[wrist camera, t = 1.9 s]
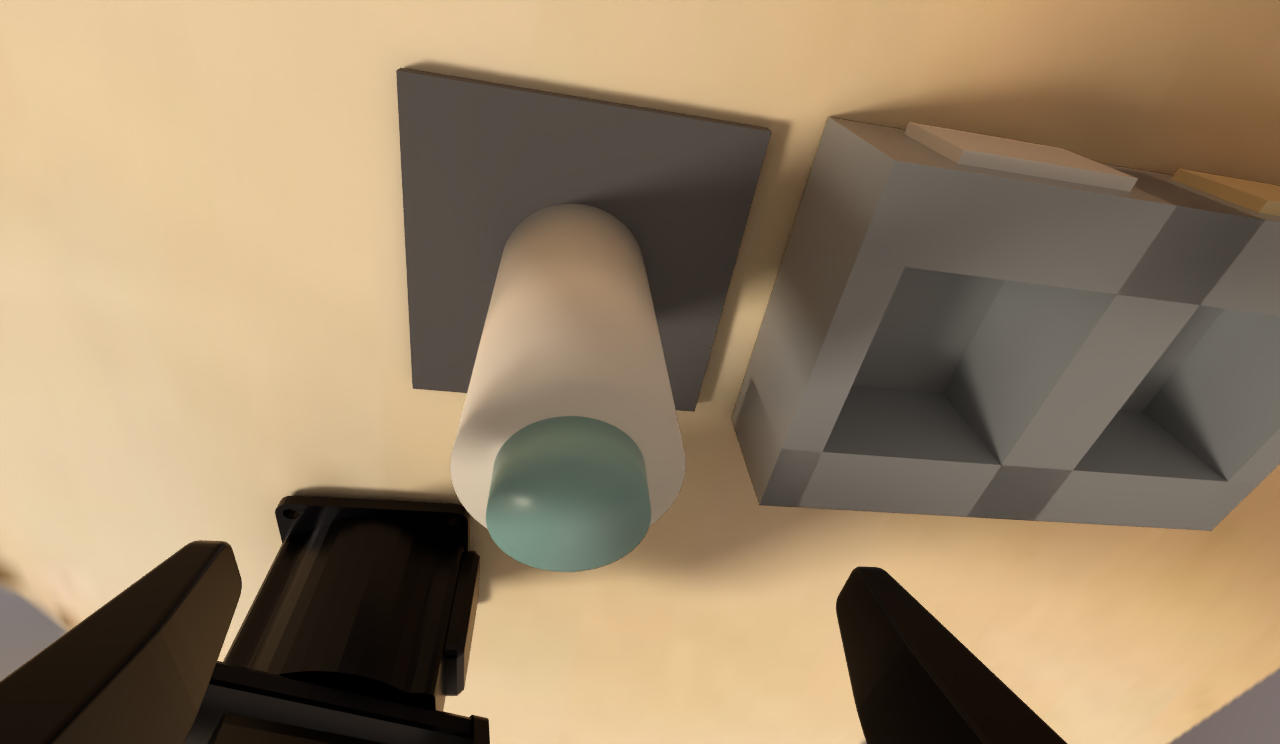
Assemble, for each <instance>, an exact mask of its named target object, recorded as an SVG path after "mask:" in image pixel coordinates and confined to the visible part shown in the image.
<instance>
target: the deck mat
mask: <svg viewBox="0 0 1280 744" xmlns="http://www.w3.org/2000/svg"><path fill="white" fill-rule="evenodd" d="M396 72H397V92H398V111H399V130H400V150H401V169H402V189H403V208H404V227H405V247H406V266H407V286H408V305H409V324H410V344H411V363H412V382H413V389H425V390H437V391H450V392H462V393H467V392H468V388H469V384H470V380H471V376H472V372H473V368H474V364H475V360H476V356H477V352H478V348H479V344H480V340H481V336H482V333H483V329H484V325H485V321H486V317H487V313H488V309H489V305H490V301H491V297H492V293H493V289H494V285H495V281H496V277H497V273H498V269H499V266H500V262H501V258H502V254H503V250H504V247H505V245H506V242H507V240H508V238H509V237H510V235H511V233H512V232H513V231H514V229H515V228H516V227H517V226H518V225H519V224H520V223H521V222H522V221H523V220H524V219H525V218H527V217H528V216H530V215H531V214H533V213H535V212H537V211H539V210H541V209H543V208H547V207H550V206H553V205H559V204H570V203H573V204H584V205H589V206H593V207H596V208H599V209H601V210H603V211H605V212H608V213H610V214H611V215H613V216H614V217H616V218H617V219H619V220H620V221H621V222H622V223H623V224H624V225H625V226H626V227H627V228H628V229H629V230H630V231H631V233H632V234H633V236H634V237H635V239H636V240H637V242H638V244H639V246H640V249H641V252H642V255H643V259H644V264H645V269H646V273H647V278H648V283H649V288H650V292H651V297H652V302H653V306H654V311H655V316H656V320H657V325H658V330H659V335H660V339H661V344H662V349H663V353H664V358H665V363H666V368H667V372H668V377H669V382H670V386H671V391H672V396H673V400H674V405H675V410H682V411H695V407H696V403H697V400H698V396H699V393H700V389H701V385H702V382H703V378H704V374H705V371H706V367H707V363H708V360H709V356H710V353H711V349H712V345H713V342H714V338H715V334H716V331H717V327H718V324H719V320H720V316H721V313H722V309H723V305H724V302H725V298H726V294H727V291H728V287H729V284H730V280H731V276H732V273H733V269H734V265H735V262H736V258H737V254H738V251H739V247H740V244H741V240H742V236H743V233H744V229H745V225H746V222H747V218H748V215H749V211H750V207H751V204H752V200H753V196H754V193H755V189H756V185H757V182H758V178H759V175H760V171H761V167H762V164H763V160H764V156H765V153H766V149H767V145H768V142H769V138H770V135H771V131H770V130H769V129H768V128H764V127H758V126H752V125H746V124H740V123H734V122H728V121H722V120H716V119H709V118H703V117H697V116H691V115H685V114H679V113H673V112H667V111H661V110H655V109H648V108H642V107H636V106H630V105H624V104H618V103H612V102H606V101H600V100H594V99H588V98H581V97H575V96H569V95H563V94H557V93H551V92H545V91H539V90H533V89H527V88H520V87H514V86H508V85H502V84H496V83H490V82H484V81H478V80H472V79H466V78H459V77H453V76H447V75H441V74H435V73H429V72H423V71H417V70H411V69H405V68H400V69H398V70H397V71H396Z"/></svg>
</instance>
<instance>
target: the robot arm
mask: <svg viewBox="0 0 1280 744" xmlns="http://www.w3.org/2000/svg"><path fill="white" fill-rule="evenodd" d="M275 514H276V519H277V523H278V527H279V531H280V535H281V539H282V543H283V544H282V546H281V548H280V550H279V552H278V554H277V556H276V558H275V560H274V562H273V564H272V566H271V568H270V570H269V572H268V574H267V576H266V578H265V580H264V582H263V584H262V586H261V588H260V590H259V592H258V594H257V596H256V598H255V600H254V602H253V604H252V606H251V608H250V610H249V612H248V614H247V616H246V617H245V619H244V621H243V623H242V625H241V627H240V629H239V631H238V633H237V635H236V637H235V639H234V641H233V643H232V645H231V647H230V649H229V651H228V653H227V655H226V657H225V659H224V661H223V662H220V661H217V660H218V657H219V654H220V651H221V648H222V646H223V643H224V640H225V637H226V634H227V632H228V629H229V626H230V623H231V620H232V618H233V615H234V612H235V609H236V606H237V603H238V601H239V598H240V594H241V588H242V581H241V576H240V573H239V570H238V566H237V563H236V560H235V557H234V553H233V550H232V548H231V545H229V544H228V543H227V542H224V541H202V540H200V541H194V542H191V543H189V544H187V545H186V546H184V547H183V548H182V549H180V550H179V551H177V552H176V553H175V554H173V555H172V556H171V557H169V558H168V559H167V560H165V561H164V562H162V563H161V564H160V565H158V566H157V567H156V568H154V569H153V570H152V571H150V572H149V573H147V574H146V575H145V576H143V577H142V578H141V579H139V580H138V581H137V582H135V583H134V584H132V585H131V586H130V587H128V588H127V589H126V590H124V591H123V592H122V593H120V594H119V595H117V596H116V597H115V598H113V599H112V600H111V601H109V602H108V603H107V604H105V605H104V606H102V607H101V608H100V609H98V610H97V611H96V612H94V613H93V614H92V615H90V616H89V617H87V618H86V619H85V620H83V621H82V622H81V623H79V624H78V625H77V626H75V627H74V628H72V629H71V630H70V631H68V632H67V633H66V634H64V635H63V636H62V637H60V638H59V639H58V640H56V641H55V642H54V643H52V644H51V645H49V646H48V647H47V648H45V649H44V650H42V651H41V652H40V653H38V654H37V655H36V656H34V657H33V658H32V659H30V660H29V661H27V662H26V663H25V664H23V665H22V666H21V667H19V668H18V669H17V670H15V671H14V672H13V673H11V674H10V675H8V676H7V677H6V678H4V679H3V680H2V681H0V744H490V737H489V720H488V718H484V717H480V716H475V715H471V716H470V717H465V716H461V715H456V714H452V713H447V712H443V708H444V702H445V697H446V696H457V695H458V694H460V693H461V692H462V691H463V690H464V687H465V680H466V674H467V667H468V661H469V655H470V648H471V642H472V635H473V629H474V623H475V616H476V610H477V603H478V597H479V573H480V556H479V555H478V554H477V553H476V551H469V542H470V513H469V512H468V511H467V510H466V509H465V507H464V506H462V505H457V504H442V503H423V502H404V501H385V500H366V499H347V498H328V497H309V496H286V497H284V498H282V500H281V501H280V502H279V504H278V506H277V508H276V510H275ZM452 517H456V518H452ZM836 613H837V618H838V623H839V628H840V633H841V638H842V642H843V647H844V652H845V657H846V662H847V667H848V671H849V676H850V681H851V686H852V691H853V696H854V700H855V704H856V708H857V712H858V716H859V719H860V723H861V726H862V729H863V733H864V736H865V739H866V742H867V744H1067V743H1066V742H1065V741H1064V740H1063V739H1062V738H1061V737H1060V736H1059V735H1058V734H1057V733H1056V732H1055V731H1054V730H1052V729H1051V728H1050V727H1049V726H1048V725H1047V724H1046V723H1045V722H1044V721H1043V720H1042V719H1041V718H1040V717H1039V716H1038V715H1037V714H1036V713H1035V712H1034V711H1032V710H1031V709H1030V708H1029V707H1028V706H1027V705H1026V704H1025V703H1024V702H1023V701H1022V700H1021V699H1020V698H1019V697H1018V696H1017V695H1016V694H1015V693H1014V692H1012V691H1011V690H1010V689H1009V688H1008V687H1007V686H1006V685H1005V684H1004V683H1003V682H1002V681H1001V680H1000V679H999V678H998V677H997V676H996V675H995V674H994V673H992V672H991V671H990V670H989V669H988V668H987V667H986V666H985V665H984V664H983V663H982V662H981V661H980V660H979V659H978V658H977V657H976V656H975V655H974V654H972V653H971V652H970V651H969V650H968V649H967V648H966V647H965V646H964V645H963V644H962V643H961V642H960V641H959V640H958V639H957V638H956V637H955V636H954V635H952V634H951V633H950V632H949V631H948V630H947V629H946V628H945V627H944V626H943V625H942V624H941V623H940V622H939V621H938V620H937V619H936V618H935V617H934V616H932V615H931V614H930V613H929V612H928V611H927V610H926V609H925V608H924V607H923V606H922V605H921V604H920V603H919V602H918V601H917V600H916V599H915V598H914V597H912V596H911V595H910V594H909V593H908V592H907V591H906V590H905V589H904V588H903V587H902V586H901V585H900V584H899V583H898V582H897V581H896V580H895V579H894V578H892V577H891V576H890V575H889V574H888V573H887V572H886V571H885V570H883V569H881V568H877V567H857V568H855V569H854V570H853V571H852V572H851V574H850V576H849V578H848V580H847V581H846V583H845V585H844V587H843V588H842V590H841V592H840V594H839V596H838V598H837V602H836Z"/></svg>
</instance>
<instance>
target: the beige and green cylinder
mask: <svg viewBox="0 0 1280 744" xmlns="http://www.w3.org/2000/svg"><path fill="white" fill-rule="evenodd" d="M685 467H686V459H685V453H684V447H683V443H682V438H681V433H680V429H679V424H678V419H677V415H676V410H675V405H674V400H673V396H672V391H671V386H670V382H669V377H668V372H667V368H666V363H665V358H664V353H663V349H662V344H661V339H660V335H659V330H658V325H657V320H656V316H655V311H654V306H653V302H652V297H651V292H650V288H649V283H648V278H647V273H646V269H645V264H644V259H643V255H642V252H641V249H640V246H639V244H638V242H637V240H636V239H635V237H634V236H633V234H632V233H631V231H630V230H629V229H628V228H627V227H626V226H625V225H624V224H623V223H622V222H621V221H620V220H619V219H617V218H616V217H614V216H613V215H611V214H610V213H608V212H605V211H603V210H601V209H599V208H596V207H593V206H589V205H584V204H573V203H570V204H559V205H553V206H550V207H547V208H543V209H541V210H539V211H537V212H535V213H533V214H531V215H530V216H528V217H527V218H525V219H524V220H523V221H522V222H521V223H520V224H519V225H518V226H517V227H516V228H515V229H514V231H513V232H512V233H511V235H510V237H509V238H508V240H507V242H506V245H505V247H504V250H503V254H502V258H501V262H500V266H499V269H498V273H497V277H496V281H495V285H494V289H493V293H492V297H491V301H490V305H489V309H488V313H487V317H486V321H485V325H484V329H483V333H482V336H481V340H480V344H479V348H478V352H477V356H476V360H475V364H474V368H473V372H472V376H471V380H470V384H469V388H468V392H467V396H466V400H465V403H464V407H463V411H462V415H461V419H460V423H459V427H458V431H457V435H456V439H455V443H454V447H453V451H452V455H451V464H450V471H451V479H452V483H453V486H454V490H455V492H456V494H457V496H458V498H459V500H460V502H461V503H462V505H463V506H464V507H465V509H466V510H467V511H468V512H469V513H470V514H471V516H472V517H473V518H474V519H475V520H477V521H478V522H479V523H480V524H481V525H483V526H484V527H485V528H487V529H488V531H489V534H490V536H491V538H492V539H493V541H494V542H495V543H496V545H497V546H498V547H499V548H500V549H501V550H502V551H503V552H505V553H506V554H507V555H509V556H510V557H512V558H513V559H515V560H517V561H519V562H521V563H523V564H526V565H528V566H531V567H534V568H538V569H542V570H548V571H557V572H576V571H585V570H590V569H595V568H598V567H602V566H605V565H608V564H610V563H612V562H614V561H617V560H619V559H620V558H622V557H624V556H625V555H627V554H628V553H629V552H631V551H632V550H633V549H634V548H635V547H636V546H637V545H638V544H639V543H640V542H641V541H642V539H643V538H644V536H645V535H646V533H647V531H648V528H649V527H650V526H651V525H652V524H654V523H655V522H656V521H657V520H659V519H660V518H661V517H662V516H663V515H664V514H665V513H666V512H667V510H668V509H669V508H670V507H671V505H672V504H673V503H674V501H675V499H676V498H677V496H678V494H679V492H680V490H681V487H682V484H683V481H684V476H685Z"/></svg>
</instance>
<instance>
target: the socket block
mask: <svg viewBox="0 0 1280 744" xmlns="http://www.w3.org/2000/svg"><path fill="white" fill-rule="evenodd" d="M731 420H732V423H733V426H734V429H735V432H736V435H737V438H738V442H739V445H740V448H741V451H742V454H743V457H744V460H745V463H746V466H747V469H748V472H749V475H750V478H751V481H752V484H753V487H754V490H755V493H756V496H757V499H758V502H759V505H766V506H784V507H801V508H819V509H837V510H854V511H872V512H889V513H907V514H925V515H942V516H960V517H977V518H995V519H1013V520H1030V521H1048V522H1065V523H1083V524H1101V525H1118V526H1136V527H1153V528H1171V529H1189V530H1206V531H1212V530H1213V529H1214V528H1215V527H1216V526H1217V525H1218V524H1219V523H1220V522H1221V521H1222V520H1223V519H1224V518H1225V517H1226V516H1227V515H1228V514H1229V513H1230V512H1231V511H1232V510H1233V509H1234V508H1235V507H1236V506H1237V505H1238V504H1239V503H1240V502H1241V501H1242V500H1243V499H1244V498H1245V497H1246V496H1247V495H1248V494H1249V493H1250V492H1251V491H1252V490H1253V489H1254V488H1255V487H1256V486H1257V485H1258V484H1259V483H1260V482H1261V481H1263V480H1264V479H1265V478H1266V477H1267V476H1268V475H1269V474H1270V473H1271V472H1272V471H1273V470H1274V469H1275V468H1276V467H1277V466H1278V465H1279V464H1280V186H1278V185H1272V184H1266V183H1260V182H1255V181H1249V180H1243V179H1237V178H1232V177H1226V176H1220V175H1214V174H1208V173H1203V172H1197V171H1191V170H1185V169H1179V168H1178V169H1177V171H1176V172H1175V174H1174V175H1167V174H1161V173H1156V172H1150V171H1144V170H1138V169H1132V168H1126V167H1120V166H1114V165H1109V164H1103V163H1098V162H1095V161H1093V160H1090V159H1088V158H1085V157H1083V156H1080V155H1078V154H1075V153H1073V152H1070V151H1068V150H1065V149H1063V148H1058V147H1052V146H1046V145H1040V144H1035V143H1029V142H1023V141H1017V140H1012V139H1006V138H1000V137H994V136H988V135H983V134H977V133H971V132H965V131H959V130H954V129H948V128H942V127H936V126H930V125H925V124H919V123H913V122H909V123H908V126H907V128H906V130H903V129H897V128H891V127H885V126H879V125H873V124H868V123H862V122H856V121H850V120H844V119H838V118H832V117H828V119H827V122H826V125H825V128H824V131H823V134H822V138H821V141H820V144H819V147H818V150H817V153H816V156H815V159H814V162H813V166H812V169H811V172H810V175H809V178H808V181H807V184H806V187H805V190H804V194H803V197H802V200H801V203H800V206H799V209H798V212H797V215H796V219H795V222H794V225H793V228H792V231H791V234H790V237H789V240H788V243H787V247H786V250H785V253H784V256H783V259H782V262H781V265H780V268H779V271H778V275H777V278H776V281H775V284H774V287H773V290H772V293H771V296H770V300H769V303H768V306H767V309H766V312H765V315H764V318H763V321H762V324H761V328H760V331H759V334H758V337H757V340H756V343H755V346H754V349H753V352H752V356H751V359H750V362H749V365H748V368H747V371H746V374H745V377H744V380H743V384H742V387H741V390H740V393H739V396H738V399H737V402H736V405H735V409H734V412H733V415H732V418H731Z"/></svg>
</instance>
